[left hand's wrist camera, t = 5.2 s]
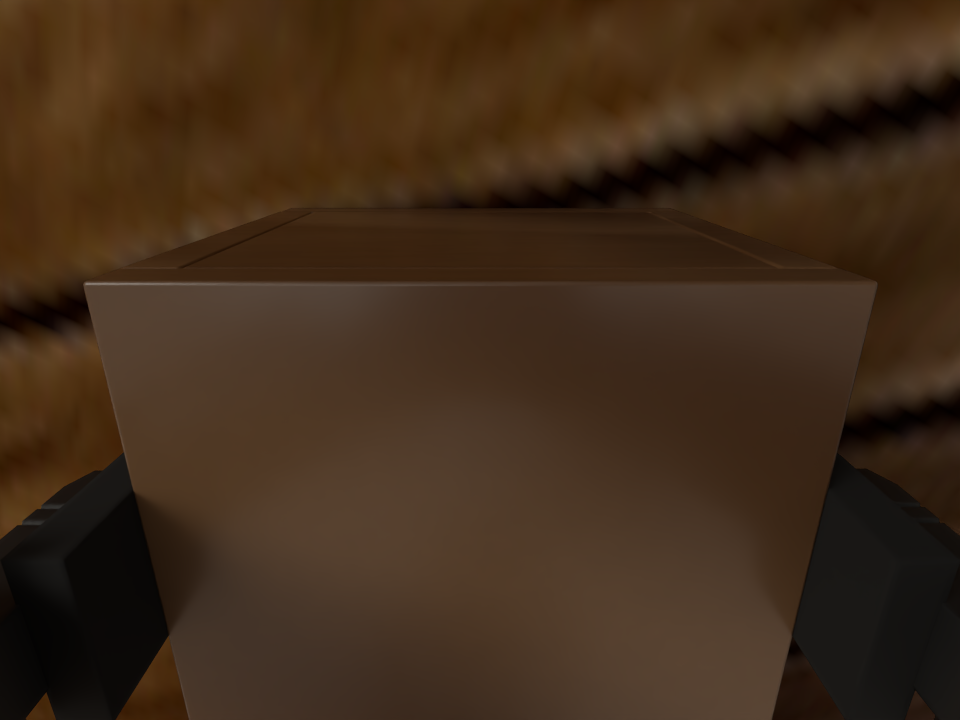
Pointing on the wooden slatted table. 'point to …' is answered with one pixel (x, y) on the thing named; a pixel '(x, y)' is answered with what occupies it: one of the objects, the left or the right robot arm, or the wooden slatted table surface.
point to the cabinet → (480, 459)
